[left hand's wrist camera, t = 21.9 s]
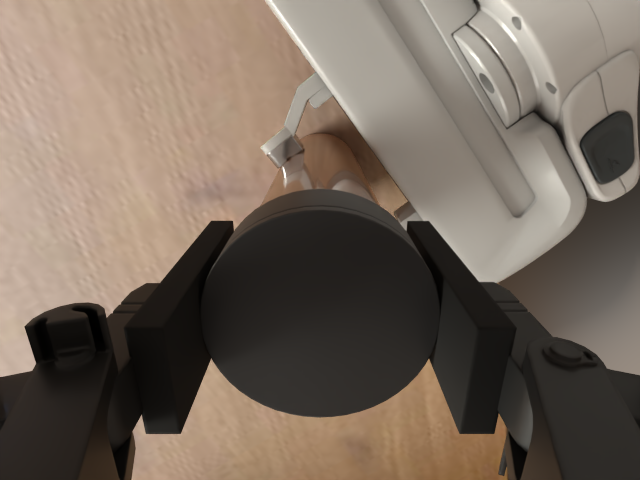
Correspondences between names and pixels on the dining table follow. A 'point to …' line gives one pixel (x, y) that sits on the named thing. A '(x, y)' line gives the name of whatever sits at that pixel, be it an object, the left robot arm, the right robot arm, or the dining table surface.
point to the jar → (321, 169)
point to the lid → (320, 305)
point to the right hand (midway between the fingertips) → (308, 204)
